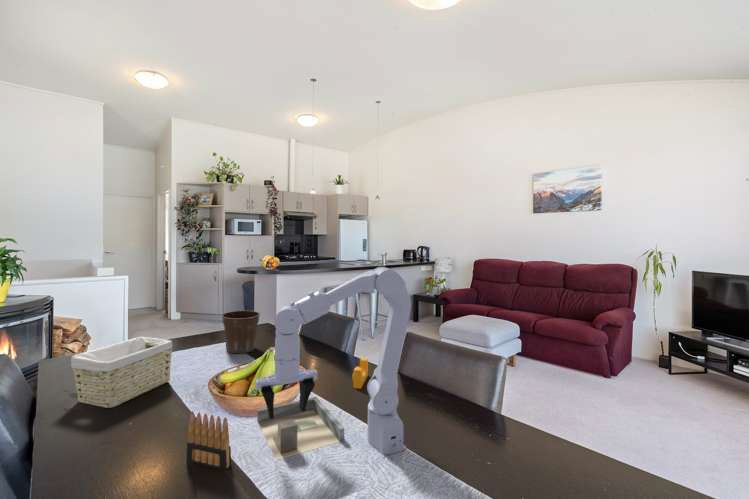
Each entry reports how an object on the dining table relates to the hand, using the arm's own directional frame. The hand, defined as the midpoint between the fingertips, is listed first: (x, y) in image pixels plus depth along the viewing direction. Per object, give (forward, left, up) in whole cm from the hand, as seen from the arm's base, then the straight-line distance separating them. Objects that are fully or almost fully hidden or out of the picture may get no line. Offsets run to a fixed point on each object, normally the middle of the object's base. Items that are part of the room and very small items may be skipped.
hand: (287, 413), depth 88 cm
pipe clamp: (+30, -35, -10) cm, 47 cm away
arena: (+6, -5, -9) cm, 12 cm away
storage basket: (+57, +37, -10) cm, 69 cm away
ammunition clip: (+2, +17, -10) cm, 20 cm away
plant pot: (+85, -4, -10) cm, 86 cm away
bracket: (+2, 0, -9) cm, 9 cm away
